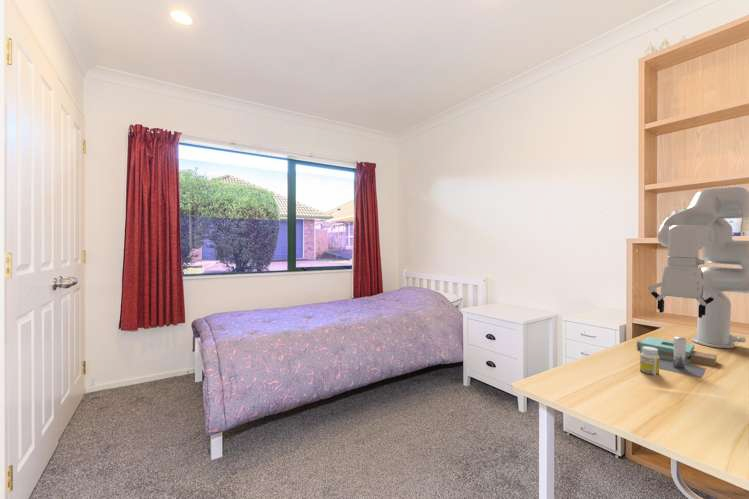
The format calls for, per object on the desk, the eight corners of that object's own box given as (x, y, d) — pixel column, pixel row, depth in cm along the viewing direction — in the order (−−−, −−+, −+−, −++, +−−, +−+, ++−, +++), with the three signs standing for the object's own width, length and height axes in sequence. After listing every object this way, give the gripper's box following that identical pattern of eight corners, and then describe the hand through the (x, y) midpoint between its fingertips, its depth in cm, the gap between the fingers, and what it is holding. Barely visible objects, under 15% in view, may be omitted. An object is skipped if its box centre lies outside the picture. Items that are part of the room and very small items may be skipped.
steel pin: (682, 366, 115) (683, 337, 114) (686, 369, 112) (688, 339, 111) (671, 365, 116) (672, 336, 115) (675, 368, 113) (676, 338, 112)
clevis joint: (717, 361, 121) (717, 349, 121) (713, 370, 113) (713, 356, 113) (641, 346, 137) (641, 335, 137) (633, 353, 129) (633, 341, 129)
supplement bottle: (652, 371, 112) (653, 346, 112) (662, 377, 107) (663, 351, 107) (636, 370, 112) (637, 345, 112) (646, 376, 108) (647, 350, 107)
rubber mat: (706, 370, 113) (706, 368, 113) (701, 380, 105) (701, 378, 105) (659, 360, 122) (659, 358, 122) (651, 368, 114) (651, 366, 114)
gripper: (721, 263, 108) (718, 317, 109) (651, 260, 121) (649, 308, 122) (718, 265, 103) (716, 321, 104) (646, 261, 116) (644, 311, 117)
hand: (680, 314), depth 113 cm, fingers open, 9 cm apart
